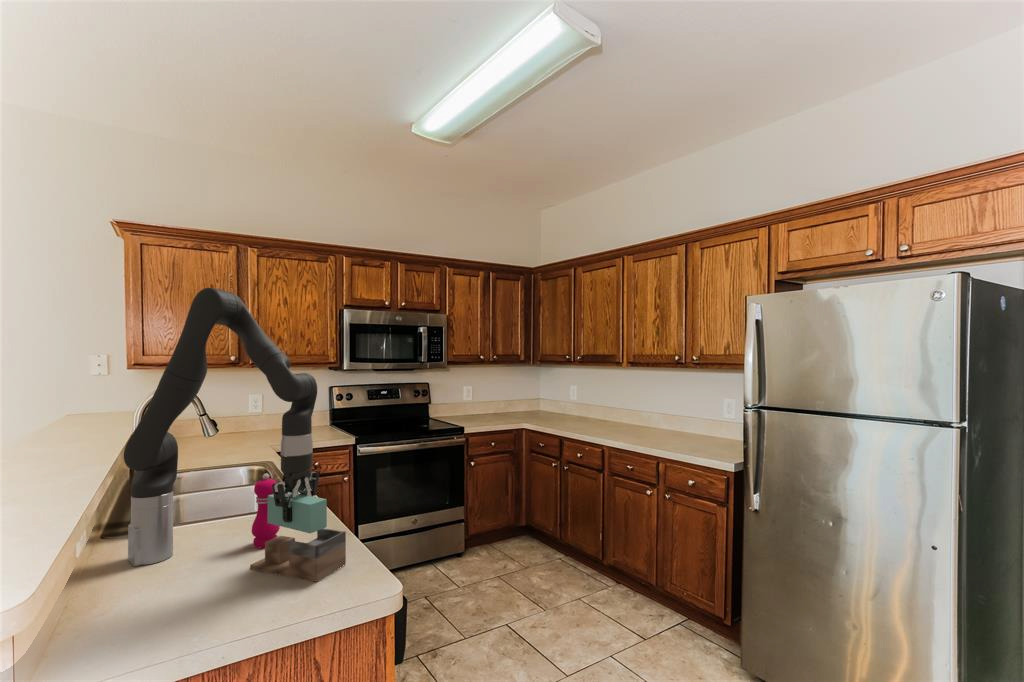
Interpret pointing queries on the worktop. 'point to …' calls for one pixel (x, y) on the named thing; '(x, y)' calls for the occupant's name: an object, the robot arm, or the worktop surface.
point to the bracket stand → (304, 556)
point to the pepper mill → (263, 513)
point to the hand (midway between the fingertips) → (296, 517)
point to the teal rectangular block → (300, 513)
